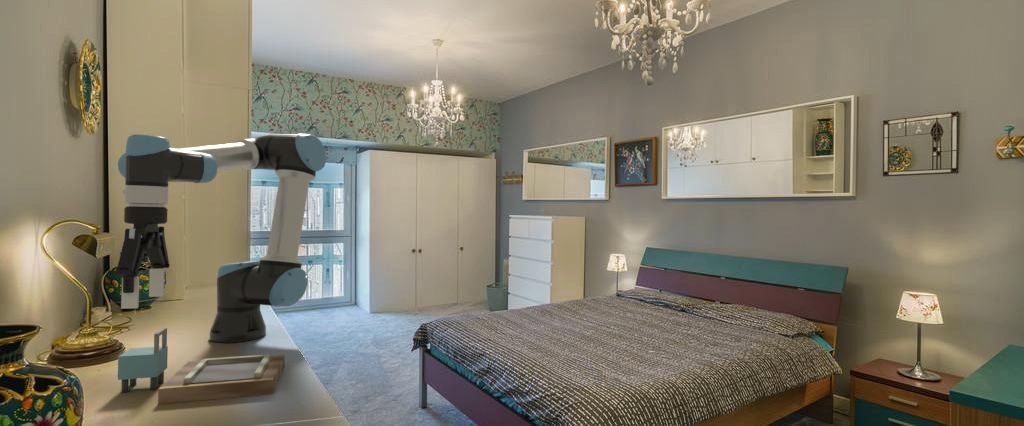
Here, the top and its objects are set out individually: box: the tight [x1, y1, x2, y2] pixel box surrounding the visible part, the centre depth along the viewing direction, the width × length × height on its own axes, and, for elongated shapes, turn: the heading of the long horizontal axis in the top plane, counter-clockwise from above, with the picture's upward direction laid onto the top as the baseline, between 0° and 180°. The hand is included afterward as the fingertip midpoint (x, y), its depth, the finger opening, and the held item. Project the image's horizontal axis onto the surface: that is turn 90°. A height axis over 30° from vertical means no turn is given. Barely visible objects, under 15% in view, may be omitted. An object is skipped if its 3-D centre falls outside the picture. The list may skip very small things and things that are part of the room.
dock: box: [157, 353, 286, 405], centre depth 108 cm, size 18×21×4 cm
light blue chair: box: [117, 327, 169, 394], centre depth 104 cm, size 6×7×12 cm
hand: (144, 302), depth 104 cm, fingers open, 13 cm apart
